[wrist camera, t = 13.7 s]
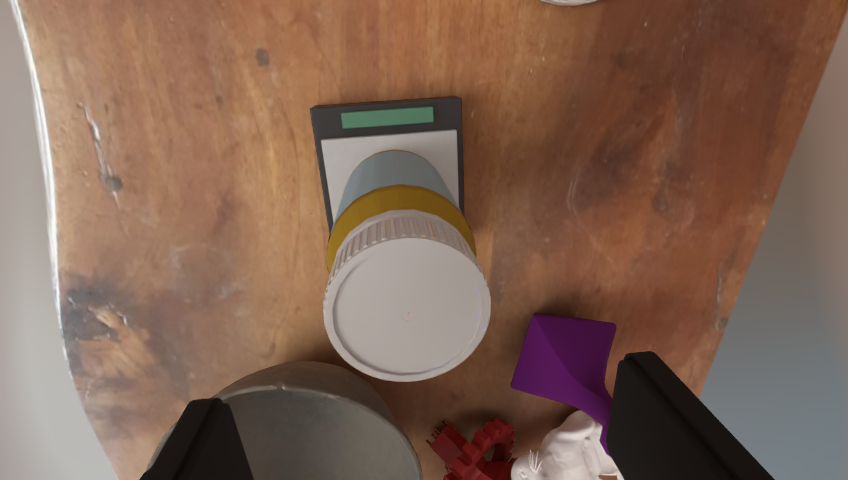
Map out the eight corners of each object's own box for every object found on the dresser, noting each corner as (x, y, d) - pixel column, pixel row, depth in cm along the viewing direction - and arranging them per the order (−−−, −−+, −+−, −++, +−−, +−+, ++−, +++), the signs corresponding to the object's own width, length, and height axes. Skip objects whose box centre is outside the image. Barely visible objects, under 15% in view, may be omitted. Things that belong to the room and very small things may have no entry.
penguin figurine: (589, 396, 44) (485, 434, 41) (640, 409, 35) (514, 457, 33) (611, 458, 42) (506, 500, 40) (669, 486, 34) (540, 541, 32)
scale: (314, 105, 28) (307, 108, 26) (456, 95, 29) (463, 98, 27) (336, 249, 33) (332, 264, 30) (460, 238, 33) (466, 252, 31)
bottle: (398, 261, 30) (411, 418, 17) (323, 200, 28) (268, 324, 14) (465, 195, 29) (541, 307, 15) (392, 125, 27) (405, 182, 13)
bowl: (383, 280, 34) (384, 358, 25) (432, 440, 41) (446, 545, 32) (164, 335, 34) (83, 434, 25) (252, 485, 41) (215, 604, 32)
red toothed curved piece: (512, 460, 46) (456, 405, 48) (553, 444, 36) (480, 376, 39) (450, 549, 40) (391, 482, 43) (478, 558, 31) (399, 470, 33)
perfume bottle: (520, 294, 36) (640, 484, 19) (598, 303, 37) (774, 490, 21) (500, 363, 39) (589, 582, 22) (572, 370, 40) (710, 582, 23)
